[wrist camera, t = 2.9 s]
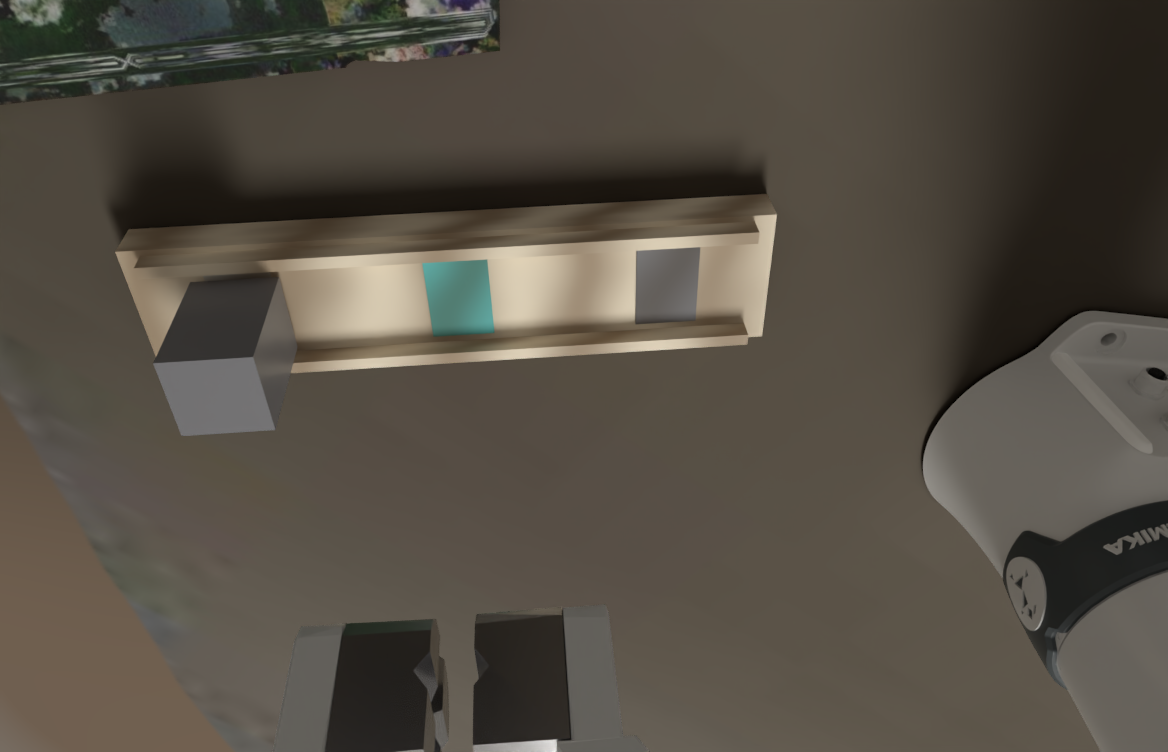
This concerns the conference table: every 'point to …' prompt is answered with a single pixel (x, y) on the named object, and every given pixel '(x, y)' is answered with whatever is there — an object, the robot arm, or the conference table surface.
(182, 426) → the grey rectangular block
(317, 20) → the floral canvas painting
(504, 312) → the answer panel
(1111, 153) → the conference table surface
